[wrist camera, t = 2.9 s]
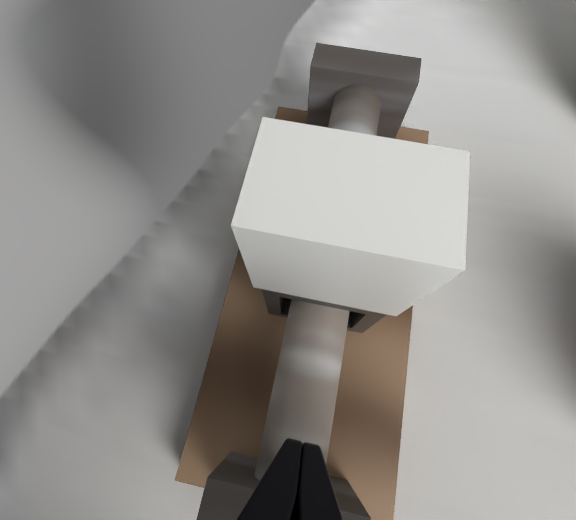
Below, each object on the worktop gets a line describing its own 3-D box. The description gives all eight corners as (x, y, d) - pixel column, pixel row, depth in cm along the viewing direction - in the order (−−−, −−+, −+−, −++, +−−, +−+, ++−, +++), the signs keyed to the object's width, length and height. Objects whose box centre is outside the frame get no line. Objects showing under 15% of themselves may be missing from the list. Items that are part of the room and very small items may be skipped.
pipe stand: (382, 521, 15) (436, 599, 10) (184, 472, 16) (127, 518, 10) (419, 147, 22) (464, 64, 16) (279, 124, 23) (275, 36, 17)
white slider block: (368, 334, 16) (465, 270, 7) (262, 312, 16) (230, 225, 8) (376, 273, 17) (470, 151, 8) (276, 253, 17) (262, 116, 9)
